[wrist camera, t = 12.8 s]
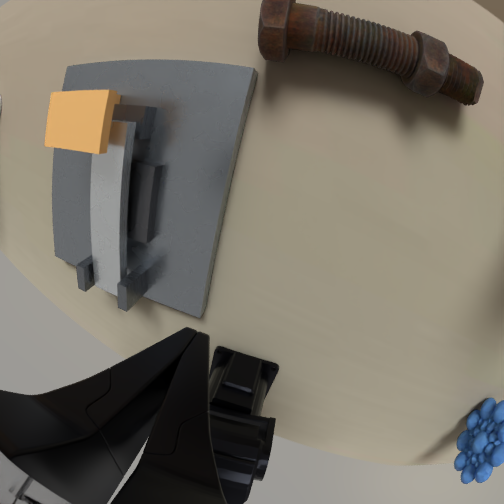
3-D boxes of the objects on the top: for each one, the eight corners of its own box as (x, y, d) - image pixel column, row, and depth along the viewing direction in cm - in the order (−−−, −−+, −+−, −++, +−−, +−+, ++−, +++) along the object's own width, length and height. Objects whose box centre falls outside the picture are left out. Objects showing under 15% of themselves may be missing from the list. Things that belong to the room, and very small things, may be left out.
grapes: (464, 433, 27) (476, 491, 16) (438, 433, 27) (449, 498, 16) (512, 385, 22) (538, 446, 11) (490, 382, 22) (517, 452, 11)
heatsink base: (205, 308, 25) (184, 343, 20) (64, 250, 26) (33, 269, 22) (258, 73, 17) (241, 53, 12) (77, 67, 18) (40, 63, 14)
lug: (142, 148, 19) (98, 154, 14) (87, 139, 19) (44, 146, 15) (152, 96, 17) (109, 89, 12) (95, 94, 17) (51, 92, 13)
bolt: (450, 101, 15) (270, 48, 17) (467, 52, 11) (275, -9, 13) (479, 134, 12) (253, 63, 13) (504, 73, 8) (259, -13, 9)
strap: (127, 291, 22) (121, 298, 21) (101, 280, 23) (95, 285, 22) (136, 122, 16) (127, 122, 15) (104, 119, 16) (95, 120, 15)
